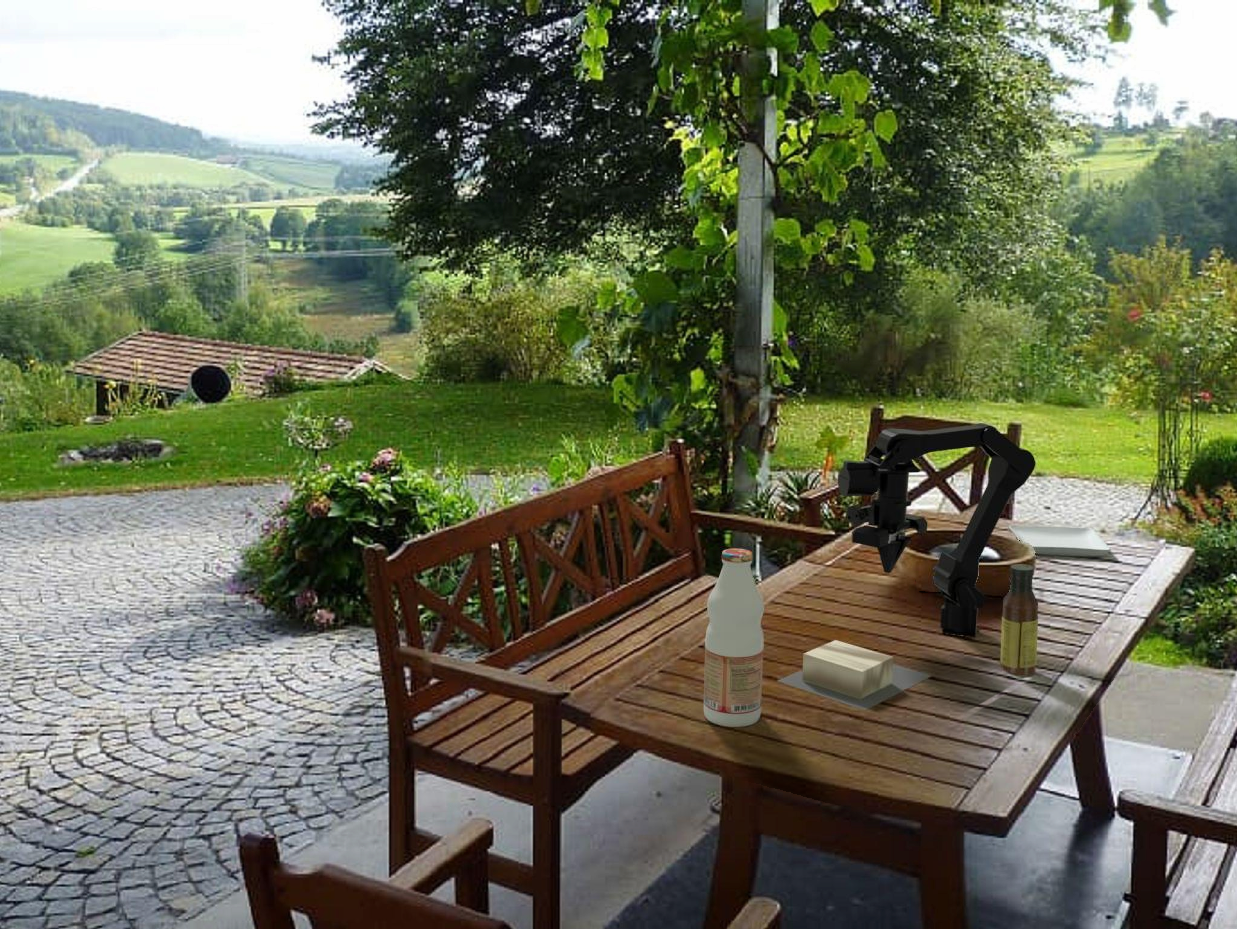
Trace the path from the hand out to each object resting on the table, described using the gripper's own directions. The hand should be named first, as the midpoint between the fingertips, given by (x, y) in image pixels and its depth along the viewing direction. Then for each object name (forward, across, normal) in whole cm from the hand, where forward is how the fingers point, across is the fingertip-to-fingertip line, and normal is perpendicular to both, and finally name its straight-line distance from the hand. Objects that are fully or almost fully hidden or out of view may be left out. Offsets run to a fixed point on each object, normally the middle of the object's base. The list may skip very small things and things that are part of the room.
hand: (887, 572), depth 229 cm
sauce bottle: (+13, -1, +27) cm, 30 cm away
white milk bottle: (+13, +52, +3) cm, 54 cm away
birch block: (+10, +22, +9) cm, 26 cm away
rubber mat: (+13, +25, +9) cm, 29 cm away
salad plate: (+14, -91, -4) cm, 92 cm away
